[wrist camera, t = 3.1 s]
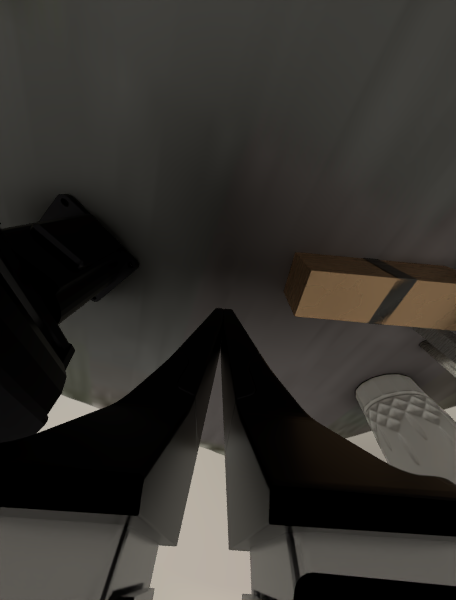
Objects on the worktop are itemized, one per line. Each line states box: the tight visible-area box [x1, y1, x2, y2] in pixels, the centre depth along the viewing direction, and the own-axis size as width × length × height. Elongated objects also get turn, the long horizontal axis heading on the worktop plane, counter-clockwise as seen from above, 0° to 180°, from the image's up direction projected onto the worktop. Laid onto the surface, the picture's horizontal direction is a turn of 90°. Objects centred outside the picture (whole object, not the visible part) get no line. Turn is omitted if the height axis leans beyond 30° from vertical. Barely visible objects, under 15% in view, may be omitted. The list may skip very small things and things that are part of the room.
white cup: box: [356, 374, 456, 484], centre depth 19 cm, size 8×8×10 cm
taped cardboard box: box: [284, 252, 456, 331], centre depth 13 cm, size 12×4×4 cm, turn 86°
